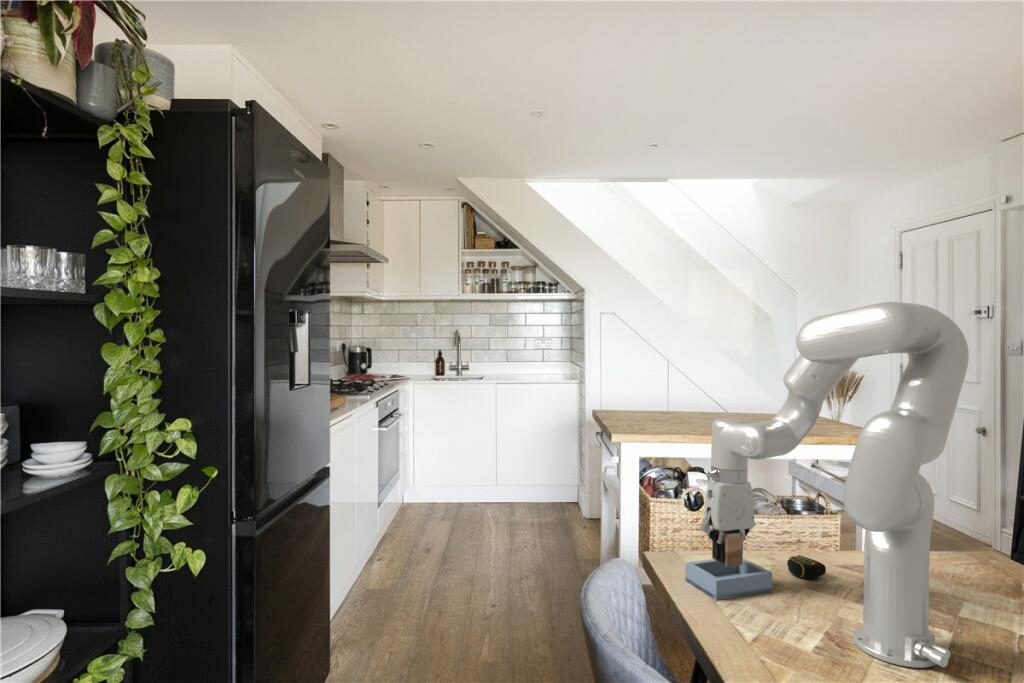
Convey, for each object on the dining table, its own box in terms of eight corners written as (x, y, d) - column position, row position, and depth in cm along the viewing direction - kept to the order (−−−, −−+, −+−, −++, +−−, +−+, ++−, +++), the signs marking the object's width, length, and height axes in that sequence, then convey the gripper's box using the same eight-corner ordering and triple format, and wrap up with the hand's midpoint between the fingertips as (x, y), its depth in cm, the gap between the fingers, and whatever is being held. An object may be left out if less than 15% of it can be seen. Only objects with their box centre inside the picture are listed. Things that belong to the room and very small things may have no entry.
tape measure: (827, 579, 133) (827, 562, 133) (807, 584, 130) (808, 567, 130) (800, 568, 139) (800, 552, 139) (781, 573, 136) (781, 557, 136)
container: (772, 591, 126) (772, 572, 126) (716, 600, 121) (716, 580, 121) (738, 573, 136) (738, 555, 136) (685, 580, 131) (685, 562, 131)
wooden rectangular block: (742, 565, 127) (743, 532, 127) (727, 567, 126) (727, 534, 126) (726, 556, 132) (727, 525, 132) (711, 558, 130) (712, 527, 130)
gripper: (708, 481, 122) (706, 569, 122) (772, 476, 128) (770, 561, 128) (686, 473, 129) (684, 556, 129) (747, 469, 135) (746, 549, 135)
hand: (727, 558), depth 129 cm, fingers closed on wooden rectangular block, 4 cm apart
